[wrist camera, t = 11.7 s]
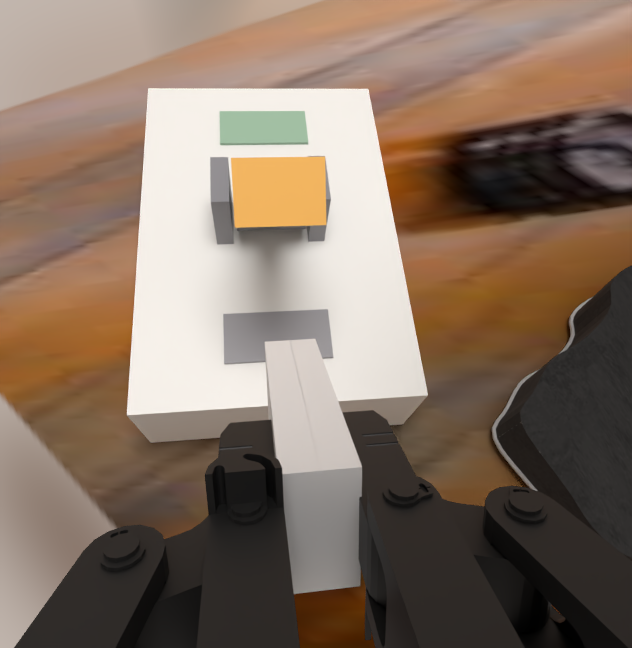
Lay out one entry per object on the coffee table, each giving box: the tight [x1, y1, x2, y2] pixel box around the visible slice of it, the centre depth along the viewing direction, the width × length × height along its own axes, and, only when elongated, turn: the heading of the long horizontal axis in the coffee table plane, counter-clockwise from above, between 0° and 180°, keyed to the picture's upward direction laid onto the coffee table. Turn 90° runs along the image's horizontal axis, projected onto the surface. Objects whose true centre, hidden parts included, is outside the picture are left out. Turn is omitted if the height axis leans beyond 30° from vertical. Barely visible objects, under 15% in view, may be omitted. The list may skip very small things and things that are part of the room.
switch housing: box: [127, 88, 428, 443], centre depth 34 cm, size 16×24×10 cm, turn 5°
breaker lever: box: [231, 157, 326, 231], centre depth 26 cm, size 4×4×13 cm
